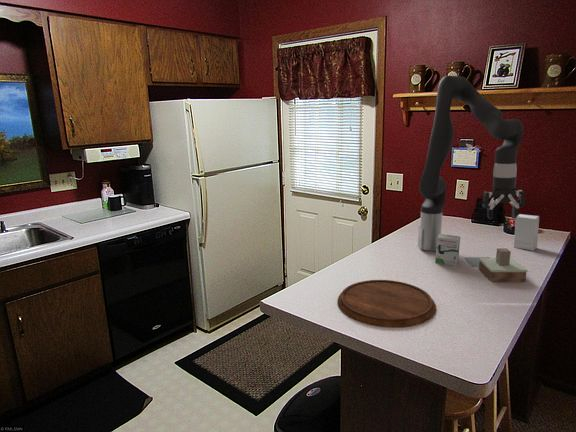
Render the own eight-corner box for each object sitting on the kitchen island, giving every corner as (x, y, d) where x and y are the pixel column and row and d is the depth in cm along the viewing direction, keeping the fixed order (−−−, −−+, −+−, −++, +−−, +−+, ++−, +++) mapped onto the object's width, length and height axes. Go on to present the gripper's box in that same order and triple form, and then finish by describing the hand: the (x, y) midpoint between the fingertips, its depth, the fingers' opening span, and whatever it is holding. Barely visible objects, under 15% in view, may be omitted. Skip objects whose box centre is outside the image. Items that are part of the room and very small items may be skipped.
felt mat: (472, 268, 166) (472, 266, 166) (463, 258, 177) (463, 257, 177) (500, 268, 165) (500, 266, 165) (489, 258, 176) (489, 257, 176)
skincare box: (537, 248, 187) (541, 216, 183) (532, 251, 183) (536, 218, 179) (516, 244, 193) (520, 213, 189) (512, 247, 189) (515, 215, 185)
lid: (491, 272, 150) (493, 255, 149) (478, 260, 162) (480, 244, 161) (527, 272, 149) (529, 255, 148) (511, 260, 161) (513, 244, 160)
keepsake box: (490, 283, 152) (491, 271, 150) (478, 271, 163) (479, 260, 162) (525, 283, 151) (526, 271, 149) (510, 271, 162) (511, 260, 161)
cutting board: (366, 278, 161) (366, 272, 160) (450, 299, 141) (450, 292, 140) (318, 309, 137) (318, 302, 136) (411, 340, 117) (411, 332, 117)
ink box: (434, 264, 172) (436, 236, 169) (436, 260, 176) (438, 233, 173) (457, 267, 168) (459, 239, 165) (458, 263, 172) (460, 235, 169)
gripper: (488, 177, 149) (486, 221, 152) (530, 175, 148) (526, 220, 151) (480, 175, 156) (478, 217, 160) (519, 173, 155) (517, 215, 159)
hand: (502, 218), depth 155 cm, fingers open, 8 cm apart
